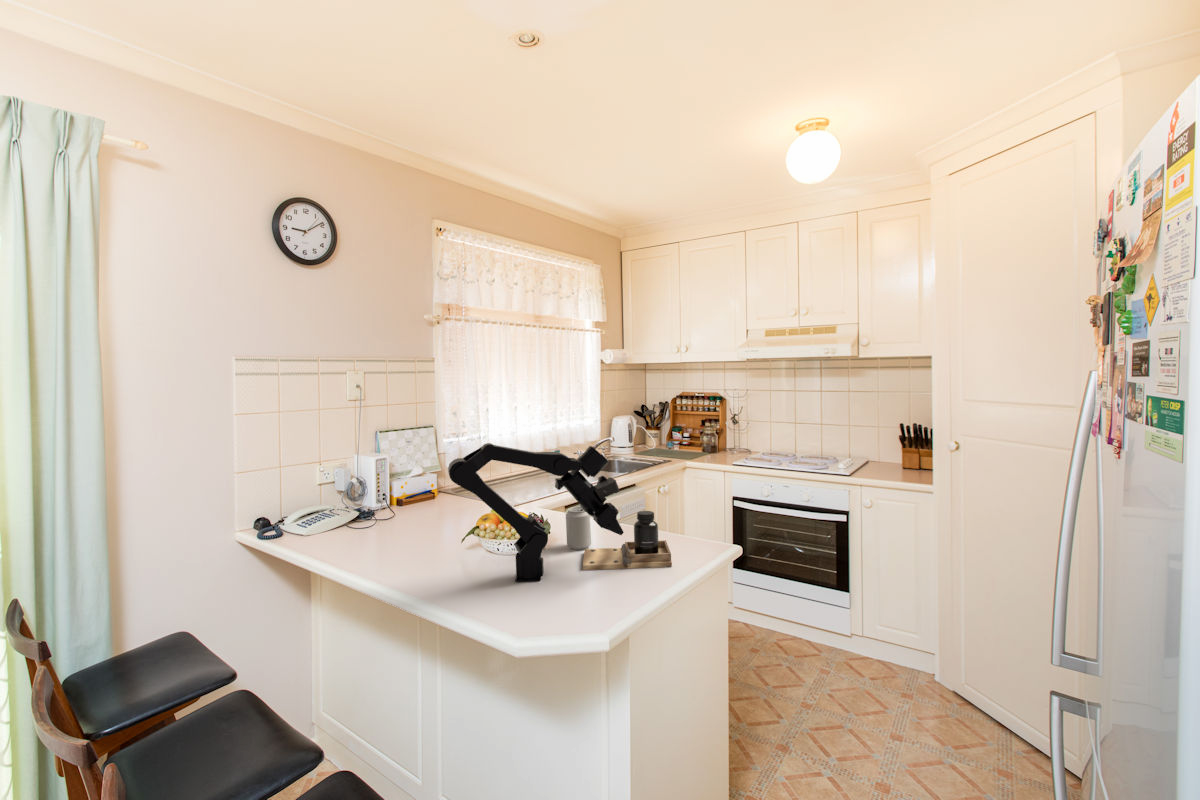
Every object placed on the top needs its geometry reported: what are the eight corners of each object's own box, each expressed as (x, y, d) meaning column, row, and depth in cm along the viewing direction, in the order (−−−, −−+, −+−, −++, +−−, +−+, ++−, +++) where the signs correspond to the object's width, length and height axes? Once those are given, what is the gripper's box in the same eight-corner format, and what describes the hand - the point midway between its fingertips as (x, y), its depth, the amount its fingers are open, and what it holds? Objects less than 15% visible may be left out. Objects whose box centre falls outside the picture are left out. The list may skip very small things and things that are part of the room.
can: (590, 550, 159) (589, 511, 159) (566, 551, 159) (564, 511, 159) (591, 542, 167) (590, 505, 166) (568, 543, 167) (566, 506, 166)
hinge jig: (583, 570, 143) (582, 558, 143) (585, 553, 157) (584, 542, 157) (671, 566, 143) (671, 554, 143) (665, 550, 157) (665, 539, 157)
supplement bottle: (645, 560, 145) (644, 517, 145) (629, 554, 150) (628, 512, 150) (663, 554, 149) (662, 512, 149) (647, 549, 155) (645, 508, 154)
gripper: (613, 475, 136) (650, 517, 139) (593, 462, 154) (626, 500, 157) (581, 505, 134) (619, 547, 137) (565, 489, 152) (599, 527, 155)
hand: (616, 528), depth 147 cm, fingers open, 9 cm apart
